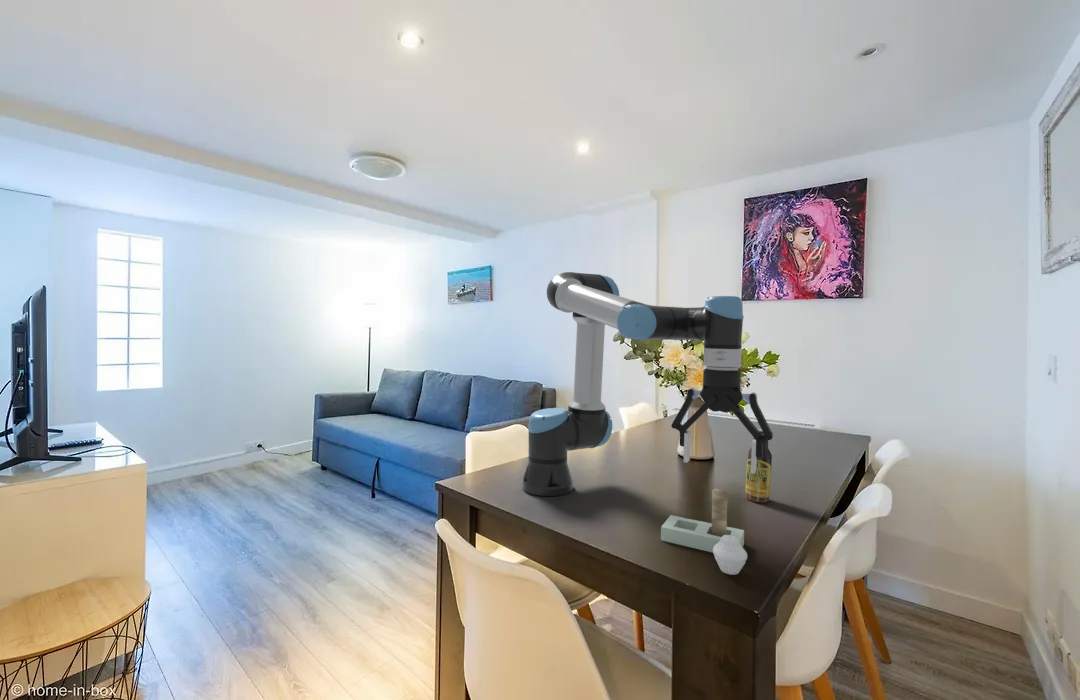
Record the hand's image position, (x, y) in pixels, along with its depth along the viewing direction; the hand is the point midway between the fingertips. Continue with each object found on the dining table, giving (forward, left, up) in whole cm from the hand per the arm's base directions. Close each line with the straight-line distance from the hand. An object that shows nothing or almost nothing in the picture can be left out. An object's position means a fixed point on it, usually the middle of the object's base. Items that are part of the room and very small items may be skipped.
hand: (718, 466), depth 97 cm
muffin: (+4, -10, -18) cm, 21 cm away
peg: (0, 0, -17) cm, 17 cm away
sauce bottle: (+5, +36, -18) cm, 40 cm away
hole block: (-3, 0, -17) cm, 18 cm away
